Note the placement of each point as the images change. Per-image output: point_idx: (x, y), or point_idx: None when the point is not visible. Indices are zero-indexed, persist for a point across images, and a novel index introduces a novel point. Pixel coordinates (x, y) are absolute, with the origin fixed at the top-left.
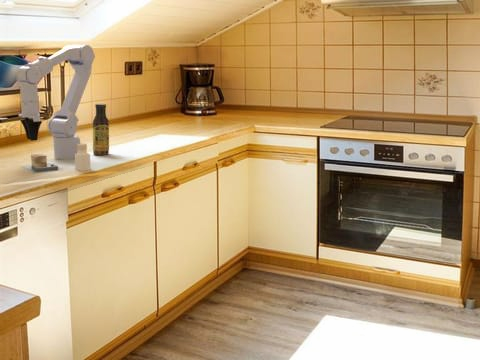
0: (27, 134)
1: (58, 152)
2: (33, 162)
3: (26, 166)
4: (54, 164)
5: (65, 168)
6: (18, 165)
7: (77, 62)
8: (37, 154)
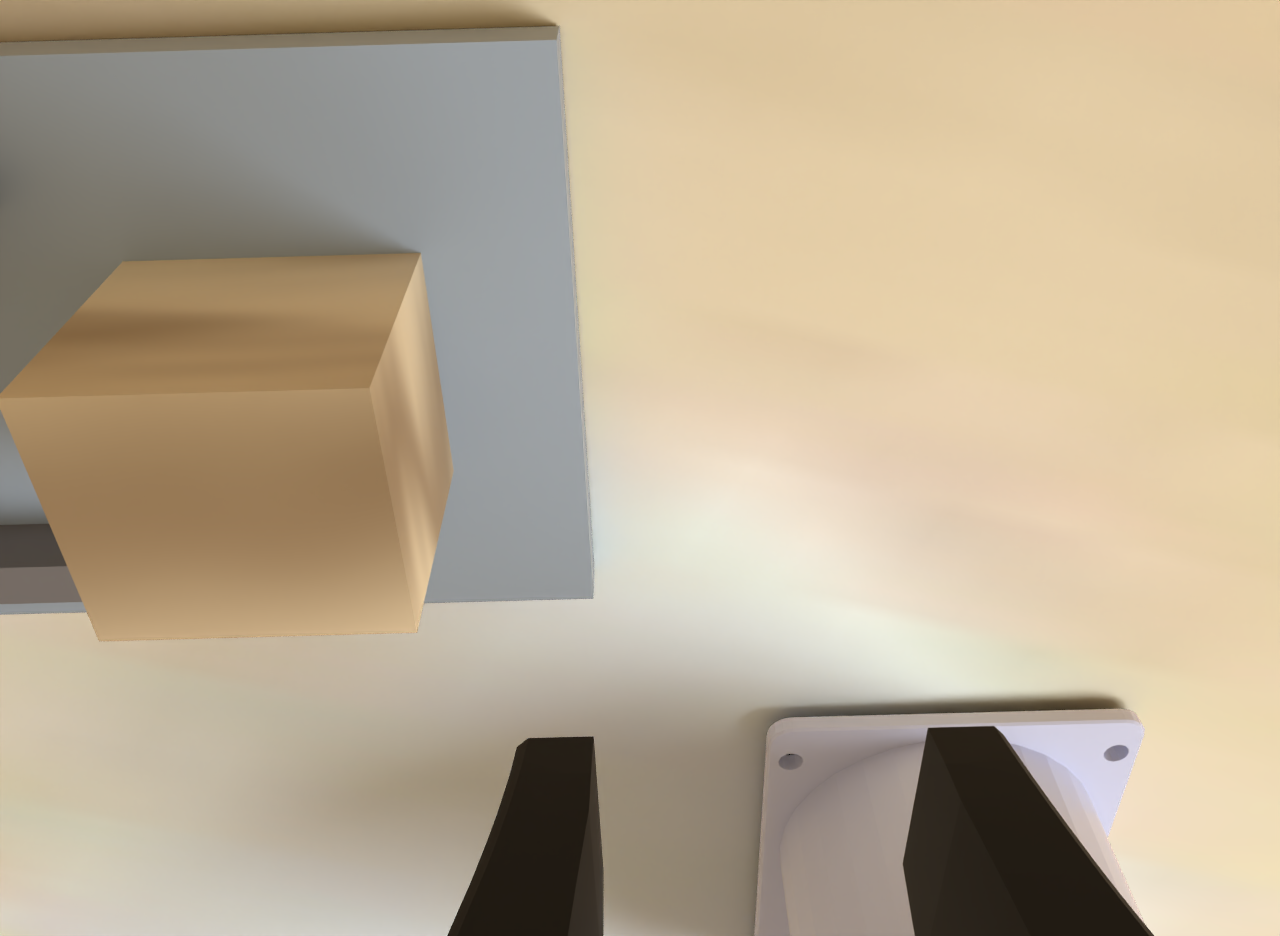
0: (991, 892)
1: (874, 876)
2: (221, 306)
3: (412, 134)
4: (14, 602)
5: (179, 682)
6: (945, 48)
7: None
8: (344, 526)
